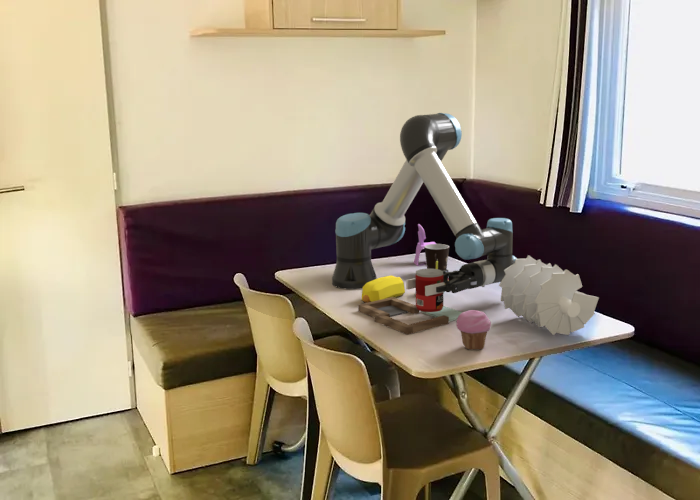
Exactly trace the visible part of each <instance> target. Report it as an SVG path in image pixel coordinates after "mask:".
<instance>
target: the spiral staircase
mask: <svg viewBox="0 0 700 500" xmlns="http://www.w3.org/2000/svg"><path fill="white" fill-rule="evenodd" d="M504 272H505V274H506V275H505V276H504V278H503V279H502V281H501V282H499V284H498V287H500V288H501V295H500V302H501V303H502V302H503V304H504V309H505V310H507V309H509V310H511V311H512V312H513V314H515V315H516V317H518V318H520V317H523V318H524V319H525V320H526V321H528V323H530V324H532V323H533V322H534V324H535V325H536V326H537V328H540V327H541V328H542V327H545V328H546V329H547V330H548V331H549V333H550V334H552V336H555V334H561V335H564V336H567V335H568V336H569V335H570V334H571V333H574V332H576V331H579V330H581V329H584V328H585V325H586V324H587V323H588V322H590V320H591V318H592V317H593V316H594V315H595V314H596V313H595V310H596V307H597V304H598V301H599V299H600V297H599V296H594V295H589V294H586V293H584V292H580V291H578V290H580V289H581V288H582V287H584V286H583V285H582V284H583V283H582V281H581V278H580V275H579V274H578V273H577V274H574V273H573V272H571V271H570V270H568V269H564V270H563V269H562V268H561V267H559V265H558V264H556V263H554V265H553V266H552V264H551V263H550V262H549V263H544V262H542V260H541V259H537V260H536V259H535V258H533V257H532V256H531V255H528V254H527V256H526V258H517V259H515V263H514V264H513V265H511V266H509V267H508V268H506V269H505V270H504Z"/></svg>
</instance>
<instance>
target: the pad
mask: <svg viewBox="0 0 700 500" xmlns="http://www.w3.org/2000/svg"><path fill="white" fill-rule="evenodd" d="M463 312H464V311H463ZM463 312H462V311H460V310H456V309H453V308H452V307H447V306H446V305H443V308H442V310H440V311H437V312H423V311H420V313H422V314H426V315H428V316H430V317H432V318H436V317H440V316H447V317H449V322H452V321H457V318H458V316H459V315H460V314H461V313H463Z"/></svg>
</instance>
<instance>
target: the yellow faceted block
mask: <svg viewBox="0 0 700 500" xmlns="http://www.w3.org/2000/svg"><path fill="white" fill-rule="evenodd" d="M405 288H406V287H405V282H404V280H403V279H402V278H401V277H400V276H394V275H386V276H381V277H378V278H377V279H375V280H373V281H370V282H368V283H366V284H365V285H364V286H363V288H362V289H361V301H363V302H364V303H368V302H373V301H377V300H382V299H386V298H390V297H394V298H398V297H402V296H403V295H404V294H405V293H406V289H405Z"/></svg>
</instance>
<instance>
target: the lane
mask: <svg viewBox="0 0 700 500" xmlns="http://www.w3.org/2000/svg"><path fill="white" fill-rule="evenodd" d="M357 306H358V307H357V308H358V309H357V310H358V312H359V311H360V313H362V314H365V315H367V316H368V317H369V316H370V317H372V318H374V322H376V323H378V324H380V325H382V326H385V327H388V328H389V329H393V330H395V331H397V332H399V333H402V334H405V335H406V336H407V335H412V334H414V333H416V334H417V333H420V332H423V331H427V330H430V329H434V328H438V327H442V326H446V325H449V324H450V321H449V317H447V316H440V317H432V318H428V319H425V320H419V321H417V322H412V323H409V324H408V323H405V322H403V321H401V320H398V319H395V318H393V317H396V316H399V315H400V316H401V315H404V314H408V313H410V314H413V315H416V314H418V315H419V314H420V311H419V310H418V309H417V308H416V304H414V303H410V302H407V301H405V300H402V299H399V298H398V297H395V298H394V297H390V298H386V299H382V300H377V301H373V302H368V303H366V302H364V303H360V304H358V305H357Z"/></svg>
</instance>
